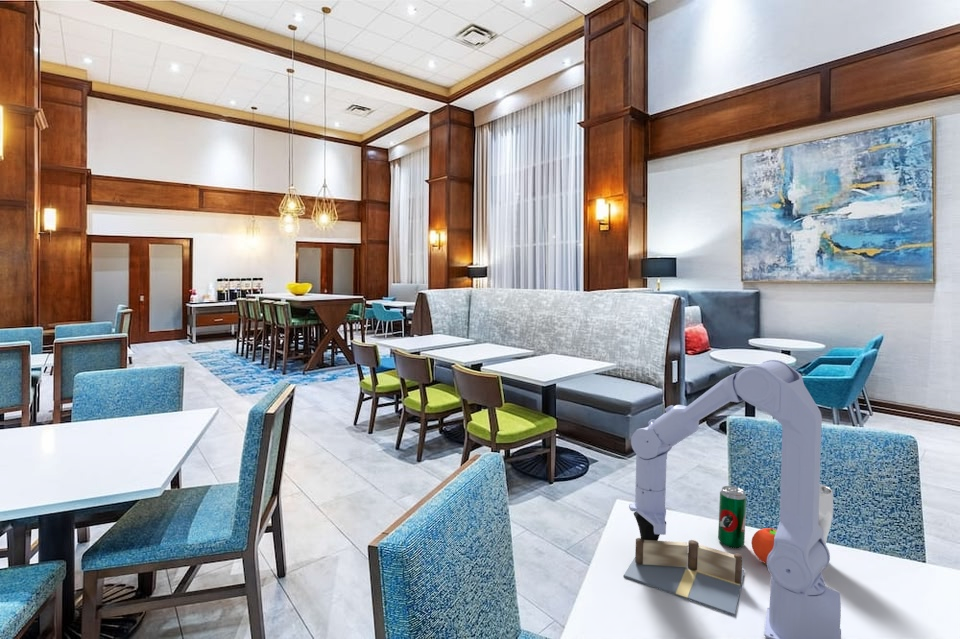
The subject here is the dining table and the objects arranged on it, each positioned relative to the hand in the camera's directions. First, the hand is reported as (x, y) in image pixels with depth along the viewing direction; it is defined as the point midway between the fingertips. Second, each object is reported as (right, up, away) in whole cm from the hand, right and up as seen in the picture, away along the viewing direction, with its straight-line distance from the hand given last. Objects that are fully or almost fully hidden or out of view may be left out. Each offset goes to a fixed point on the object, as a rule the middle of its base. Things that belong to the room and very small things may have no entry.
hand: (648, 550), depth 96 cm
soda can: (+20, -2, +7) cm, 22 cm away
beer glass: (+34, -3, +1) cm, 34 cm away
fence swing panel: (+2, -2, -2) cm, 3 cm away
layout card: (+5, -3, -4) cm, 7 cm away
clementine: (+25, -3, -1) cm, 25 cm away
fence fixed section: (+11, -2, -5) cm, 12 cm away
